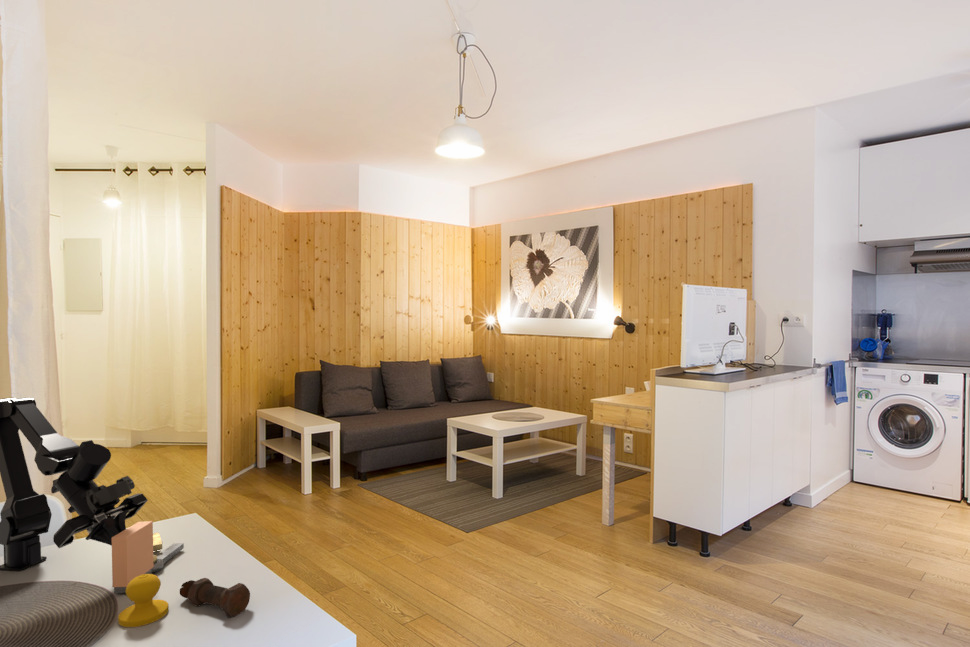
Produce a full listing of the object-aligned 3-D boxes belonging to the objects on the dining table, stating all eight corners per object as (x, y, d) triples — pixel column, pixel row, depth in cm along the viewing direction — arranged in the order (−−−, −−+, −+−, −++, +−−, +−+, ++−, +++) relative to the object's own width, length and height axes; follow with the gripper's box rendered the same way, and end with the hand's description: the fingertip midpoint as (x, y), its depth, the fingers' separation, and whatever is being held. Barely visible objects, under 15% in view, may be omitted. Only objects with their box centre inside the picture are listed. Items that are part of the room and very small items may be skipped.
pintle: (144, 564, 122) (144, 558, 122) (151, 560, 124) (151, 554, 124) (152, 564, 121) (152, 559, 121) (159, 560, 123) (159, 555, 123)
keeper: (162, 559, 128) (162, 543, 128) (137, 564, 126) (136, 549, 126) (159, 547, 136) (158, 532, 136) (134, 552, 133) (134, 537, 133)
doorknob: (175, 603, 108) (157, 625, 100) (131, 607, 107) (109, 629, 99) (174, 565, 108) (157, 584, 100) (130, 568, 107) (108, 588, 99)
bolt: (190, 605, 111) (243, 619, 104) (168, 603, 107) (222, 617, 100) (202, 574, 113) (254, 585, 107) (181, 570, 109) (234, 582, 103)
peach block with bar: (109, 593, 111) (108, 537, 111) (169, 548, 133) (168, 502, 133) (131, 592, 111) (130, 537, 111) (187, 548, 133) (186, 501, 133)
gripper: (64, 480, 109) (113, 540, 107) (140, 457, 127) (183, 508, 125) (31, 518, 110) (79, 577, 108) (111, 490, 128) (153, 540, 126)
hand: (127, 548), depth 117 cm, fingers closed, pressing on peach block with bar
